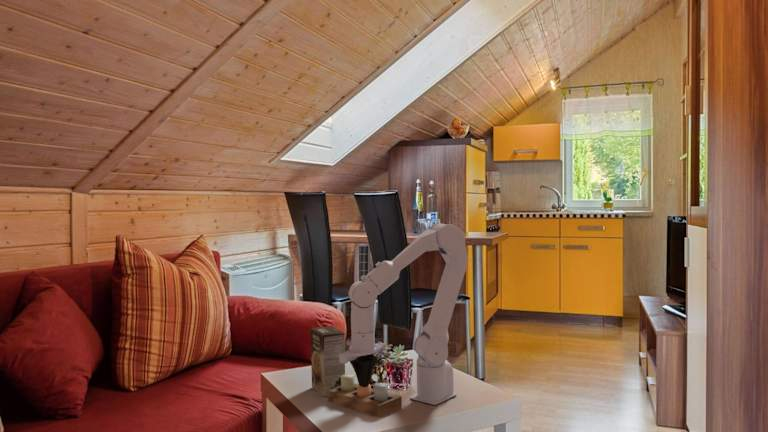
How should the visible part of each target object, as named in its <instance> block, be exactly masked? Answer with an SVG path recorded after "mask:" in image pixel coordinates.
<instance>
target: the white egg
mask: <svg viewBox="0 0 768 432" xmlns="http://www.w3.org/2000/svg"><path fill="white" fill-rule="evenodd" d="M373 389H374V401H377V402H381V403H383V402H385V401H388V393H389V384H388V383H386V382H376V383H374V384H373Z"/></svg>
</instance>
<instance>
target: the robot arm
mask: <svg viewBox="0 0 768 432" xmlns="http://www.w3.org/2000/svg"><path fill="white" fill-rule="evenodd" d="M466 239H467V238H466V236H465V234H464V232H462V230H461V228H460V227H459V226H457V225H455V224H452V223H449V224H446V223H445V224H444V223H442V222H438V223H434V224H432V225H431V226H430V227H429V228H427V229H426V230H424V231H422V232H421V233H420V234H419V235H418V236H417V237H416V238H415V239H414V240H413V241H412V242H411V243H410V244H409V245H407V246H406V247H405V248H404V249H403V250H402V251H400V252H399V254H397V255H396V256H395V257H394V258H393V259H392V260H383V261H381V262H380V261H377V263H375V266H376V267H375V268H373V269H372V270H371V271H369V272H368V273H367V274H366V275H364V274H363V275H362V276H360V279H361V280H356V281H355V282H354V283H352V285H351V286H350V287H349V289H348V290H349V291H348V292H347V294H348V297H349V300H350V301H351V303H350V309H351V312H350V331H351V332H350V335H351V336H350V339H351V340H350V341H351V343H350V344H351V346H349V347H348V348H349V349H348V350H345V352H344V353H342V354H339V362H340V363H344V364H345V365H346V364H348V363H350V364H351V366H352V368H353V370H354V373H355V376H356V379H357V383H358V385H359V386H362V387H367V386H369V384H370V380H371V377H372V373H373V370H374V368H375V366H376V364H377V362H378V356H376V355H375V354H377V353H381V352H382V353H384V352H386V351H387V350H386V349H387V348H386V347H387V344H386V343H383V342H377V343H375V342H376V341H375V340H376V337H375V312H374V311H375V309H374V304H375V303H376V301H377V297H378V295H381V294H382V293H383V292H384V291H385V290H387V289H388V288H389V287H390V286H391V285H393V284H394V283H395V282H396V281H398V280H399V278H400V274H401V271H402V270H403V269H404V268H405V267H407V266H409V265H411V263H412V262H414V261H415V260H417V259H418V258H419V257H421V255H423V254H424V253H425V252H433V251H438V252H439V254H440V255H441V257H442V258H443V260H444V262H445V265H444V267H443V268H444V269H443V271H442V275H441V279H440V282H439V284H438V288H437V290H436V294H435V298H434V301H433V303H432V307H431V310H430V313H429V316H428V320H427V322H426V323H425V324H424V325H423V326H422V329H421V332H419V335H418V336H416V338H415V340H414V342H413V348H414V351H415V353H416V354H417V356H418V357H417V359H416V393H415V394H413V395H411V396H409V399H411V400H414V401H417V402H422V403H424V404H425V403H426V404H429V405H433V406H436V405H438V404H440V403H443V402H445V401H448V400H450V399H452V398H455V397H456V396H457V393H455V392H454V368H453V366H452V364H451V363H450V362H449V361H448V360H447V359H448V356H449V347H448V344H449V340H450V337H449V336H450V335H449V325H450V322H451V319H452V316H453V313H454V310H455V306H456V302H457V299H458V297H459V294H460V290H461V287H462V284H463V280H464V278H465V277H464V276H465V273H466V271H467V267H468V265H469V257H468V252H467V246H466Z"/></svg>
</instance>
